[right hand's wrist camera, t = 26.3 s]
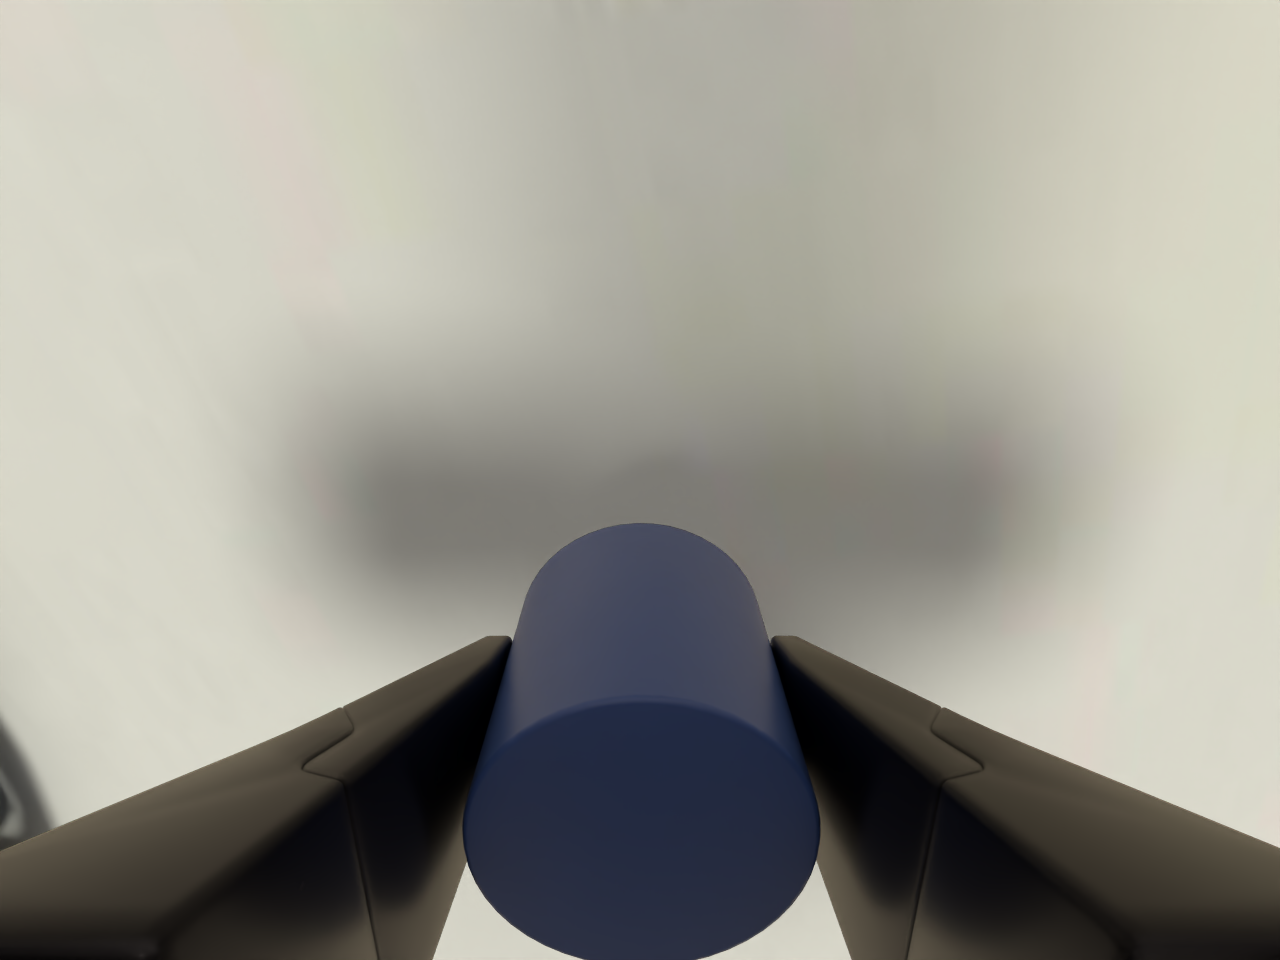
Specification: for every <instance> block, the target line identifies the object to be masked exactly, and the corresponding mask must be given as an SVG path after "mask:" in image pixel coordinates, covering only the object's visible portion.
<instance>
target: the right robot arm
mask: <svg viewBox="0 0 1280 960" xmlns="http://www.w3.org/2000/svg"><path fill="white" fill-rule="evenodd" d="M511 646H512V639H511V638H510V637H509V636H487V637H484V638H482V639H480V640H478V641H476V642H474V643H472V644H470V645H468V646H466V647H464V648H462V649H460V650H458V651H456V652H454V653H452V654H450V655H448V656H446V657H443V658H441V659H439V660H437V661H435V662H433V663H431V664H429V665H427V666H425V667H423V668H421V669H419V670H417V671H415V672H413V673H411V674H409V675H407V676H405V677H403V678H401V679H399V680H396V681H394V682H392V683H390V684H388V685H386V686H384V687H382V688H380V689H378V690H376V691H374V692H372V693H370V694H368V695H366V696H364V697H362V698H360V699H358V700H356V701H354V702H352V703H349V704H347V705H345V706H344V707H343V708H337V709H335V710H333V711H331V712H329V713H327V714H325V715H323V716H321V717H319V718H317V719H314V720H312V721H310V722H308V723H306V724H304V725H302V726H299V727H297V728H295V729H293V730H291V731H288V732H286V733H284V734H281V735H279V736H277V737H274V738H272V739H270V740H267V741H265V742H263V743H260V744H258V745H256V746H253V747H251V748H248V749H246V750H243V751H241V752H239V753H236V754H234V755H231V756H229V757H226V758H224V759H222V760H219V761H217V762H214V763H212V764H210V765H207V766H205V767H202V768H200V769H197V770H195V771H193V772H190V773H188V774H185V775H183V776H180V777H178V778H176V779H173V780H171V781H168V782H166V783H163V784H161V785H159V786H156V787H154V788H151V789H149V790H146V791H144V792H142V793H139V794H137V795H134V796H132V797H130V798H127V799H125V800H122V801H120V802H117V803H115V804H113V805H110V806H108V807H105V808H103V809H100V810H98V811H96V812H93V813H91V814H88V815H86V816H83V817H81V818H79V819H76V820H74V821H71V822H69V823H66V824H64V825H62V826H59V827H57V828H54V829H52V830H50V831H47V832H45V833H42V834H40V835H37V836H35V837H33V838H30V839H28V840H25V841H23V842H20V843H18V844H16V845H13V846H11V847H8V848H6V849H3V850H1V851H0V960H432V959H433V957H434V954H435V951H436V948H437V945H438V942H439V939H440V937H441V934H442V931H443V928H444V925H445V922H446V919H447V917H448V914H449V911H450V908H451V905H452V902H453V899H454V896H455V894H456V891H457V888H458V885H459V882H460V879H461V876H462V874H463V871H464V868H465V865H466V862H467V858H466V854H465V850H464V846H463V834H462V823H463V813H464V808H465V804H466V801H467V797H468V794H469V790H470V787H471V783H472V780H473V776H474V773H475V769H476V766H477V763H478V759H479V756H480V752H481V749H482V745H483V742H484V739H485V735H486V732H487V728H488V725H489V721H490V718H491V715H492V711H493V708H494V704H495V701H496V697H497V694H498V691H499V687H500V684H501V680H502V677H503V673H504V670H505V667H506V663H507V660H508V656H509V653H510V649H511ZM770 646H771V649H772V652H773V656H774V659H775V662H776V666H777V669H778V672H779V676H780V679H781V682H782V686H783V689H784V692H785V696H786V699H787V702H788V706H789V709H790V712H791V716H792V719H793V722H794V726H795V729H796V732H797V736H798V739H799V742H800V746H801V749H802V752H803V756H804V759H805V762H806V766H807V769H808V772H809V776H810V779H811V782H812V786H813V789H814V792H815V796H816V799H817V803H818V808H819V814H820V823H821V837H820V843H819V849H818V855H817V859H816V860H817V863H818V866H819V869H820V872H821V874H822V877H823V880H824V883H825V886H826V888H827V891H828V894H829V897H830V900H831V903H832V905H833V908H834V911H835V914H836V917H837V920H838V922H839V925H840V928H841V931H842V934H843V937H844V939H845V942H846V945H847V948H848V951H849V954H850V956H851V959H852V960H1280V848H1278V847H1276V846H1274V845H1271V844H1269V843H1266V842H1264V841H1261V840H1259V839H1256V838H1254V837H1252V836H1249V835H1247V834H1244V833H1242V832H1239V831H1237V830H1234V829H1232V828H1230V827H1227V826H1225V825H1222V824H1220V823H1217V822H1215V821H1212V820H1210V819H1208V818H1205V817H1203V816H1200V815H1198V814H1195V813H1193V812H1191V811H1188V810H1186V809H1183V808H1181V807H1178V806H1176V805H1173V804H1171V803H1169V802H1166V801H1164V800H1161V799H1159V798H1156V797H1154V796H1151V795H1149V794H1147V793H1144V792H1142V791H1139V790H1137V789H1134V788H1132V787H1129V786H1127V785H1125V784H1122V783H1120V782H1117V781H1115V780H1112V779H1110V778H1108V777H1105V776H1103V775H1100V774H1098V773H1095V772H1093V771H1090V770H1088V769H1086V768H1083V767H1081V766H1078V765H1076V764H1073V763H1071V762H1068V761H1066V760H1064V759H1061V758H1059V757H1056V756H1054V755H1051V754H1049V753H1046V752H1044V751H1042V750H1039V749H1037V748H1034V747H1032V746H1029V745H1027V744H1025V743H1022V742H1020V741H1018V740H1015V739H1013V738H1010V737H1008V736H1006V735H1003V734H1001V733H999V732H996V731H994V730H992V729H990V728H987V727H985V726H983V725H981V724H979V723H977V722H974V721H972V720H970V719H968V718H966V717H964V716H961V715H959V714H957V713H955V712H953V711H951V710H949V709H947V708H941V707H940V706H939V705H937V704H935V703H933V702H931V701H929V700H926V699H924V698H922V697H920V696H918V695H916V694H914V693H912V692H910V691H908V690H906V689H904V688H902V687H900V686H898V685H896V684H893V683H891V682H889V681H887V680H885V679H883V678H881V677H879V676H877V675H875V674H873V673H871V672H869V671H867V670H865V669H863V668H860V667H858V666H856V665H854V664H852V663H850V662H848V661H846V660H844V659H842V658H840V657H838V656H836V655H834V654H832V653H830V652H828V651H825V650H823V649H821V648H819V647H817V646H815V645H813V644H811V643H809V642H807V641H805V640H803V639H801V638H799V637H796V636H774V637H773V638H772V639H771V643H770Z"/></svg>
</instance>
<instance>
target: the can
mask: <svg viewBox="0 0 1280 960" xmlns="http://www.w3.org/2000/svg"><path fill="white" fill-rule="evenodd" d="M462 834H463V846H464V850H465V854H466V858H467V862H468V866H469V869H470V871H471V873H472V875H473V878H474V880H475V882H476V884H477V886H478V887H479V889H480V890H481V892H482V893H483V895H484V897H485V898H486V899H487V900H488V902H489V903H490V904H491V905H492V906H493V908H494V909H495V910H496V911H497V912H498V913H499V914H500V915H501V916H502V917H503V918H505V919H506V920H507V921H508V922H509V923H510V924H511V925H513V926H514V927H515V928H517V929H518V930H520V931H521V932H523V933H524V934H525V935H527V936H529V937H530V938H532V939H534V940H536V941H538V942H539V943H541V944H543V945H545V946H547V947H550V948H552V949H555V950H557V951H559V952H562V953H564V954H568V955H571V956H574V957H577V958H581V959H584V960H697V959H701V958H705V957H709V956H712V955H715V954H717V953H720V952H723V951H726V950H728V949H731V948H733V947H735V946H737V945H739V944H741V943H743V942H745V941H747V940H749V939H750V938H752V937H753V936H755V935H757V934H758V933H760V932H762V931H763V930H764V929H766V928H767V927H768V926H770V925H771V924H772V923H773V922H775V921H776V920H777V919H778V918H779V917H780V916H781V915H782V914H783V913H784V912H785V911H786V910H787V909H788V908H789V907H790V906H791V905H792V904H793V902H794V901H795V900H796V898H797V897H798V896H799V894H800V893H801V892H802V890H803V889H804V887H805V885H806V883H807V881H808V879H809V877H810V876H811V873H812V870H813V868H814V865H815V862H816V859H817V855H818V849H819V843H820V837H821V823H820V814H819V808H818V803H817V799H816V796H815V792H814V789H813V786H812V782H811V779H810V776H809V772H808V769H807V766H806V762H805V759H804V756H803V752H802V749H801V746H800V742H799V739H798V736H797V732H796V729H795V726H794V722H793V719H792V716H791V712H790V709H789V706H788V702H787V699H786V696H785V692H784V689H783V686H782V682H781V679H780V676H779V672H778V669H777V666H776V662H775V659H774V656H773V652H772V649H771V646H770V642H769V639H768V636H767V632H766V629H765V626H764V623H763V619H762V616H761V613H760V609H759V606H758V603H757V600H756V597H755V594H754V591H753V589H752V587H751V585H750V583H749V581H748V580H747V578H746V576H745V575H744V573H743V572H742V571H741V569H740V568H739V567H738V565H737V564H736V563H735V562H734V561H733V560H732V559H731V558H730V557H729V556H728V555H727V554H726V553H724V552H723V551H722V550H720V549H719V548H718V547H716V546H715V545H714V544H712V543H710V542H708V541H707V540H705V539H703V538H702V537H699V536H697V535H695V534H692V533H690V532H687V531H685V530H681V529H678V528H674V527H671V526H665V525H658V524H645V523H634V524H623V525H617V526H612V527H607V528H603V529H600V530H597V531H595V532H592V533H589V534H587V535H585V536H583V537H581V538H578V539H576V540H574V541H573V542H571V543H570V544H568V545H567V546H565V547H564V548H562V549H561V550H560V551H559V552H557V553H556V554H555V555H554V556H553V557H552V558H550V559H549V561H548V562H547V563H546V564H545V565H544V566H543V567H542V569H541V570H540V571H539V573H538V574H537V576H536V577H535V579H534V580H533V582H532V584H531V586H530V588H529V590H528V593H527V595H526V598H525V601H524V605H523V608H522V612H521V615H520V619H519V622H518V625H517V629H516V632H515V636H514V639H513V643H512V646H511V649H510V653H509V656H508V660H507V663H506V667H505V670H504V673H503V677H502V680H501V684H500V687H499V691H498V694H497V697H496V701H495V704H494V708H493V711H492V715H491V718H490V721H489V725H488V728H487V732H486V735H485V739H484V742H483V745H482V749H481V752H480V756H479V759H478V763H477V766H476V769H475V773H474V776H473V780H472V783H471V787H470V790H469V794H468V797H467V801H466V804H465V808H464V813H463V823H462Z"/></svg>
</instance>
